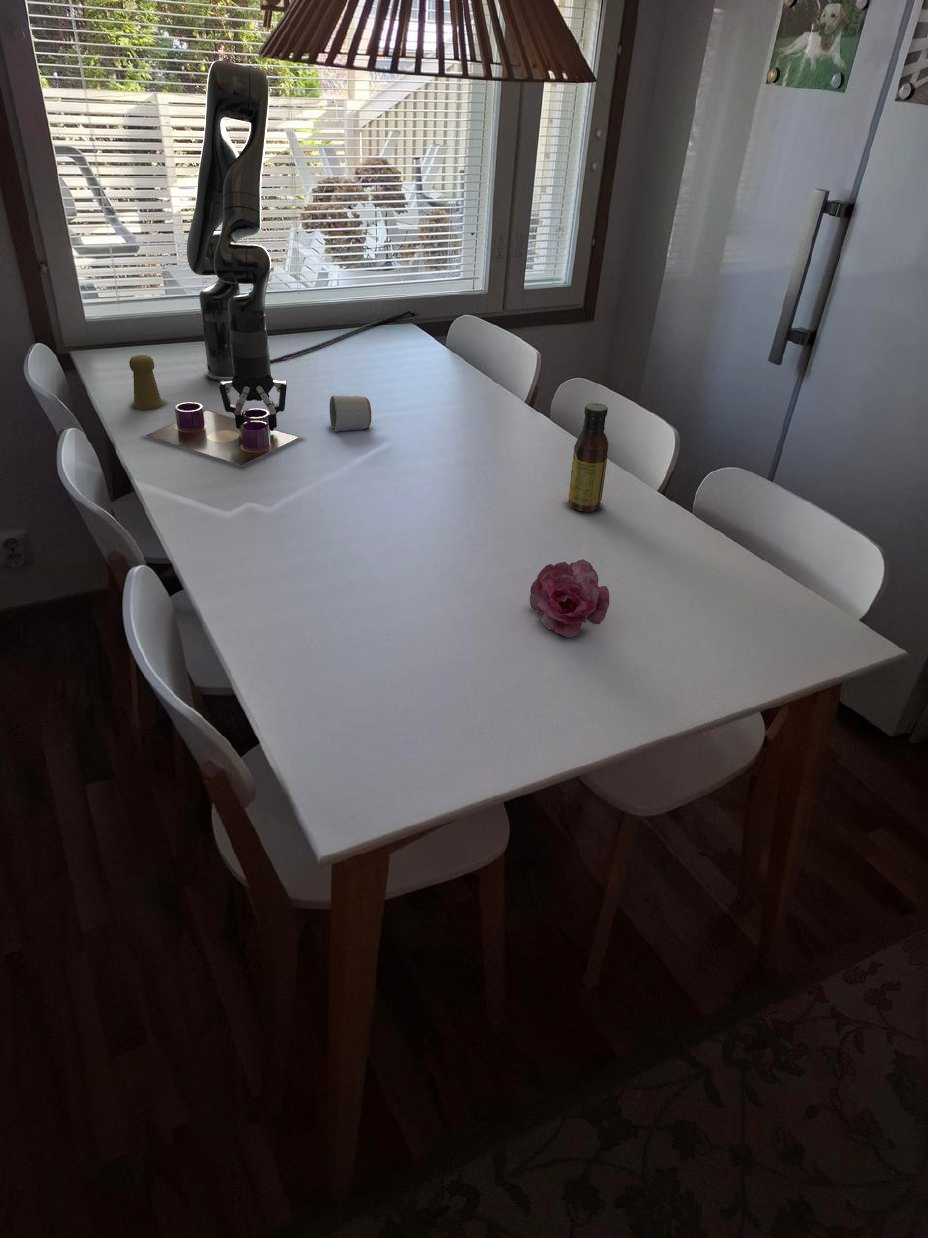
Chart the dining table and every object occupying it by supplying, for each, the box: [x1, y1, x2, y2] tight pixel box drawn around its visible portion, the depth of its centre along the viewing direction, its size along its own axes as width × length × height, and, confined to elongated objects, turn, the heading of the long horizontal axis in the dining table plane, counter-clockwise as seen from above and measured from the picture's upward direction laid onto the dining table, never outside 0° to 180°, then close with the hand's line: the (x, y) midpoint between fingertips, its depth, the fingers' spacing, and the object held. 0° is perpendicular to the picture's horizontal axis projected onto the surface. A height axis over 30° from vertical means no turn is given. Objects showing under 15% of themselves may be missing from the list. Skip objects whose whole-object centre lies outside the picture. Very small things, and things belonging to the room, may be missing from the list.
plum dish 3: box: [240, 421, 270, 451], centre depth 175 cm, size 6×6×4 cm
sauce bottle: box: [568, 402, 609, 513], centre depth 157 cm, size 6×6×20 cm
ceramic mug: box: [329, 394, 372, 432], centre depth 187 cm, size 11×8×8 cm
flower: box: [529, 559, 610, 638], centre depth 127 cm, size 11×10×10 cm
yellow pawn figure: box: [128, 354, 163, 410], centre depth 191 cm, size 6×6×11 cm
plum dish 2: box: [241, 408, 271, 433], centre depth 181 cm, size 6×6×4 cm
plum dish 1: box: [174, 401, 205, 432], centre depth 182 cm, size 6×6×4 cm
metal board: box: [145, 410, 300, 466], centre depth 180 cm, size 18×26×1 cm
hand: (257, 429), depth 182 cm, fingers closed on plum dish 2, 5 cm apart
